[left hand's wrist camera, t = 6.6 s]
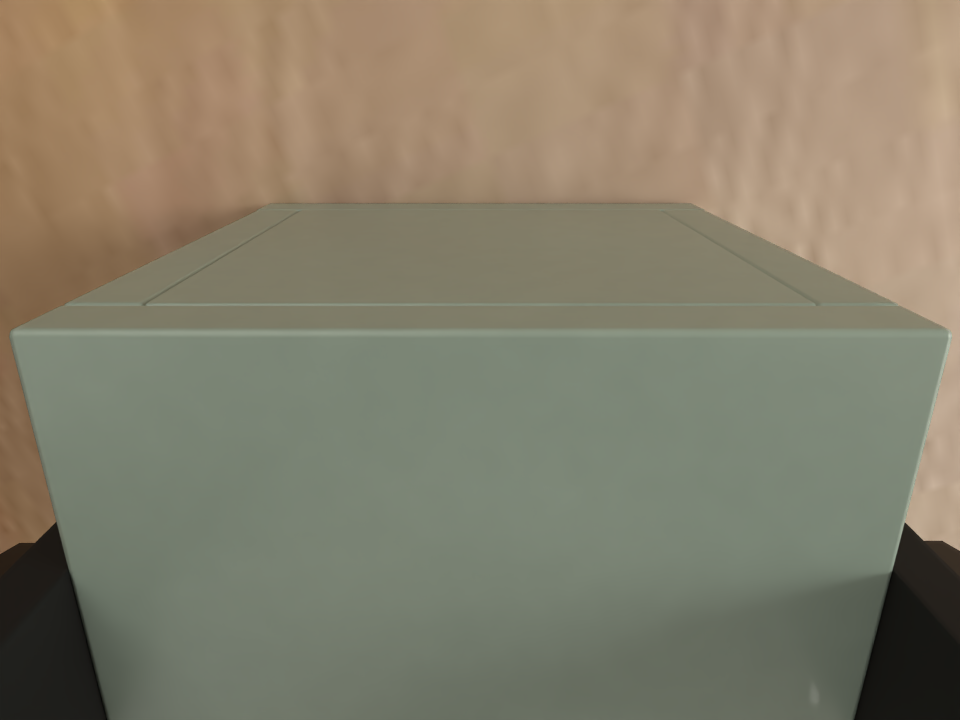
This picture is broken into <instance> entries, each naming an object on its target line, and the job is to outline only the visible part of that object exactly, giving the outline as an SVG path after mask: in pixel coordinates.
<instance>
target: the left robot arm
mask: <svg viewBox="0 0 960 720" xmlns="http://www.w3.org/2000/svg"><path fill="white" fill-rule="evenodd" d="M0 720H107V717H106V713H105V709H104V705H103V701H102V698H101V694H100V690H99V686H98V682H97V678H96V674H95V670H94V666H93V662H92V658H91V655H90V651H89V647H88V643H87V639H86V635H85V631H84V627H83V623H82V619H81V615H80V612H79V608H78V604H77V600H76V596H75V592H74V588H73V584H72V580H71V576H70V572H69V569H68V565H67V561H66V557H65V553H64V549H63V545H62V541H61V537H60V533H59V529H58V526H57V522H56V523H55V524H54V525H53V526H52V527H51V528H50V529H49V530H48V531H47V532H46V533H45V534H44V535H43V536H42V537H41V538H40V539H39V540H38V541H37V542H36V543H19V544H17V545H15V546H14V547H12V548H10V549H8V550H7V551H5V552H3V553H2V554H0ZM854 720H960V551H959V550H957V549H955V548H953V547H952V546H950V545H948V544H947V543H945V542H943V541H923V540H922V539H921V538H920V537H919V536H918V535H917V534H916V533H915V532H914V531H913V530H912V529H911V528H910V527H909V526H908V525H907V524H906V523H904V527H903V531H902V535H901V539H900V543H899V546H898V550H897V554H896V558H895V562H894V566H893V570H892V574H891V578H890V582H889V586H888V589H887V593H886V597H885V601H884V605H883V609H882V613H881V617H880V621H879V625H878V629H877V632H876V636H875V640H874V644H873V648H872V652H871V656H870V660H869V664H868V668H867V671H866V675H865V679H864V683H863V687H862V691H861V695H860V699H859V703H858V707H857V711H856V714H855V718H854Z"/></svg>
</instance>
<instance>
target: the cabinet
mask: <svg viewBox="0 0 960 720" xmlns="http://www.w3.org/2000/svg"><path fill="white" fill-rule="evenodd" d="M9 338H10V342H11V346H12V350H13V353H14V357H15V361H16V365H17V369H18V373H19V377H20V381H21V385H22V389H23V393H24V396H25V400H26V404H27V408H28V412H29V416H30V420H31V424H32V428H33V432H34V436H35V439H36V443H37V447H38V451H39V455H40V459H41V463H42V467H43V471H44V475H45V479H46V483H47V486H48V490H49V494H50V498H51V502H52V506H53V510H54V514H55V518H56V522H57V526H58V529H59V533H60V537H61V541H62V545H63V549H64V553H65V557H66V561H67V565H68V569H69V572H70V576H71V580H72V584H73V588H74V592H75V596H76V600H77V604H78V608H79V612H80V615H81V619H82V623H83V627H84V631H85V635H86V639H87V643H88V647H89V651H90V655H91V658H92V662H93V666H94V670H95V674H96V678H97V682H98V686H99V690H100V694H101V698H102V701H103V705H104V709H105V713H106V717H107V720H854V718H855V714H856V711H857V707H858V703H859V699H860V695H861V691H862V687H863V683H864V679H865V675H866V671H867V668H868V664H869V660H870V656H871V652H872V648H873V644H874V640H875V636H876V632H877V629H878V625H879V621H880V617H881V613H882V609H883V605H884V601H885V597H886V593H887V589H888V586H889V582H890V578H891V574H892V570H893V566H894V562H895V558H896V554H897V550H898V546H899V543H900V539H901V535H902V531H903V527H904V523H905V519H906V515H907V511H908V507H909V504H910V500H911V496H912V492H913V488H914V484H915V480H916V476H917V472H918V468H919V464H920V461H921V457H922V453H923V449H924V445H925V441H926V437H927V433H928V429H929V425H930V421H931V418H932V414H933V410H934V406H935V402H936V398H937V394H938V390H939V386H940V382H941V379H942V375H943V371H944V367H945V363H946V359H947V355H948V351H949V347H950V343H951V339H952V334H951V331H950V330H949V329H947V328H945V327H943V326H941V325H939V324H937V323H934V322H932V321H930V320H928V319H926V318H924V317H922V316H920V315H918V314H916V313H914V312H912V311H910V310H908V309H906V308H903V307H901V306H898V304H897V303H895V302H893V301H891V300H888V299H886V298H884V297H882V296H880V295H878V294H876V293H874V292H872V291H870V290H868V289H866V288H864V287H862V286H860V285H857V284H855V283H853V282H851V281H849V280H847V279H845V278H843V277H841V276H839V275H837V274H835V273H833V272H831V271H829V270H826V269H824V268H822V267H820V266H818V265H816V264H814V263H812V262H810V261H808V260H806V259H804V258H802V257H800V256H798V255H795V254H793V253H791V252H789V251H787V250H785V249H783V248H781V247H779V246H777V245H775V244H773V243H771V242H769V241H767V240H764V239H762V238H760V237H758V236H756V235H754V234H752V233H750V232H748V231H746V230H744V229H742V228H740V227H738V226H736V225H733V224H731V223H729V222H727V221H725V220H723V219H721V218H719V217H717V216H715V215H713V214H711V213H709V212H707V211H704V209H701V208H699V207H697V206H695V205H693V204H268V205H266V206H264V207H262V208H260V209H258V210H257V211H256V212H254V213H251V214H249V215H247V216H245V217H243V218H241V219H239V220H237V221H235V222H233V223H231V224H229V225H227V226H225V227H223V228H220V229H218V230H216V231H214V232H212V233H210V234H208V235H206V236H204V237H202V238H200V239H198V240H196V241H194V242H192V243H189V244H187V245H185V246H183V247H181V248H179V249H177V250H175V251H173V252H171V253H169V254H167V255H165V256H163V257H161V258H158V259H156V260H154V261H152V262H150V263H148V264H146V265H144V266H142V267H140V268H138V269H136V270H134V271H132V272H130V273H127V274H125V275H123V276H121V277H119V278H117V279H115V280H113V281H111V282H109V283H107V284H105V285H103V286H101V287H99V288H96V289H94V290H92V291H90V292H88V293H86V294H84V295H82V296H80V297H78V298H76V299H74V300H72V301H70V302H68V303H65V305H64V306H60V307H58V308H55V309H53V310H51V311H49V312H47V313H45V314H43V315H41V316H39V317H37V318H35V319H33V320H31V321H29V322H26V323H24V324H22V325H20V326H18V327H16V328H14V329H12V330H11V332H10V336H9Z"/></svg>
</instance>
